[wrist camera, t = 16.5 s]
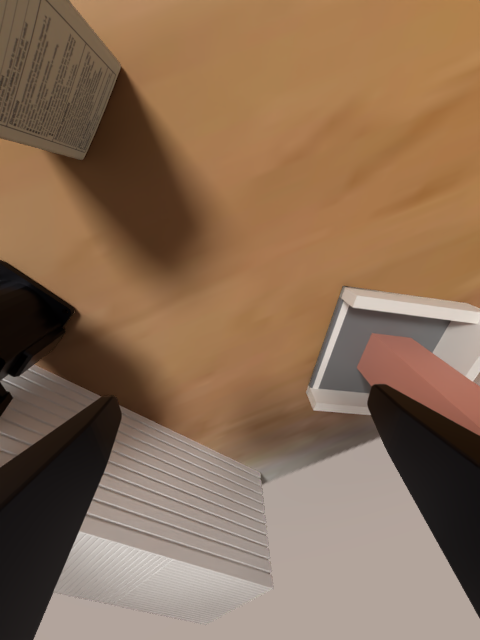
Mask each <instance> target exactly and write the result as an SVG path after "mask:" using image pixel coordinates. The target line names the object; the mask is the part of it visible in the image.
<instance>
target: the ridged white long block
mask: <svg viewBox="0 0 480 640" xmlns="http://www.w3.org/2000/svg"><path fill="white" fill-rule="evenodd" d="M0 382H1V384H2V385H3V387H4V388H5V389H6V391H9V392H10V394H11V395H12V396H13V399H12V400H11V402H10V403H9V405H8V406H7V408H6V409H5V411H4V412H3V414H2V415H1V417H0V467H1V466H3V465H4V464H6V463H7V462H9V461H10V460H11V459H13V458H14V457H16V456H17V455H19V454H20V453H22V452H23V451H24V450H26V449H27V448H29V447H30V446H32V445H33V444H34V443H36V442H37V441H39V440H40V439H42V438H43V437H44V436H46V435H47V434H49V433H50V432H52V431H53V430H54V429H56V428H57V427H59V426H60V425H62V424H63V423H64V422H66V421H67V420H69V419H70V418H72V417H73V416H74V415H76V414H77V413H79V412H80V411H82V410H83V409H85V408H86V407H87V406H89V405H90V404H92V403H93V402H95V401H96V400H97V399H99V398H100V397H101V396H99V395H97V394H95V393H93V392H91V391H89V390H87V389H84V388H82V387H80V386H78V385H76V384H74V383H72V382H70V381H68V380H66V379H63V378H61V377H59V376H57V375H55V374H53V373H51V372H49V371H47V370H45V369H43V368H40V367H38V366H36V365H33V366H32V367H30V368H29V369H28V370H26V371H25V372H24V373H23V374H21V375H20V376H18V377H12V376H10V375H7V376H6V377H5V378H3V379H2V380H1V381H0ZM119 406H120V405H119ZM120 409H121V412H122V419H121V422H120V426H119V429H118V432H117V435H116V438H115V442H114V445H113V448H112V451H111V454H110V458H109V461H108V463H107V466H106V469H105V471H104V474H103V476H102V478H101V481H100V483H99V485H98V488H97V490H96V493H95V495H94V497H93V500H92V502H91V504H90V507H89V509H88V511H87V514H86V516H85V519H84V521H83V523H82V526H81V528H80V530H79V533H78V535H77V537H76V540H75V542H74V545H73V547H72V549H71V552H70V554H69V556H68V559H67V561H66V563H65V566H64V568H63V570H62V573H61V575H60V578H59V580H58V582H57V585H56V587H55V589H54V592H53V593H57V594H62V595H67V596H72V597H76V598H77V597H78V598H81V599H85V600H90V601H95V602H100V603H104V604H109V605H114V606H119V607H123V608H128V609H133V610H138V611H142V612H147V613H152V614H157V615H161V616H166V617H171V618H176V619H180V620H185V621H190V622H195V623H200V624H204V625H207V624H209V623H211V622H213V621H214V620H216V619H218V618H220V617H222V616H224V615H225V614H227V613H229V612H231V611H233V610H235V609H236V608H238V607H240V606H242V605H244V604H245V603H248V602H250V601H251V600H253V599H255V598H257V597H259V596H260V595H263V594H264V593H266V592H268V591H270V590H272V589H273V579H272V575H270V572H272V570H271V562H270V561H268V559H269V558H270V552H269V549H268V548H267V546H269V544H268V537H267V536H266V534H267V526H265V525H264V524H265V523H266V517H265V515H263V514H264V513H265V509H264V505H262V504H263V503H264V500H263V496H261V495H262V494H263V491H262V488H261V486H262V482H261V480H260V478H261V473H260V472H258V471H256V470H254V469H252V468H250V467H248V466H246V465H244V464H241V463H239V462H237V461H235V460H233V459H231V458H229V457H227V456H225V455H223V454H221V453H218V452H216V451H214V450H212V449H210V448H208V447H206V446H204V445H202V444H200V443H197V442H195V441H193V440H191V439H189V438H187V437H185V436H183V435H181V434H179V433H177V432H174V431H172V430H170V429H168V428H166V427H164V426H162V425H160V424H158V423H156V422H154V421H151V420H149V419H147V418H145V417H143V416H141V415H139V414H137V413H135V412H133V411H130V410H128V409H126V408H124V407H122V406H120Z"/></svg>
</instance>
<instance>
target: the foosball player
mask: <svg viewBox="0 0 480 640" xmlns="http://www.w3.org/2000/svg"><path fill="white" fill-rule="evenodd" d="M357 369H358V370H359V371H360V373H361V374H362V375H363V376H364V378H365V379H366V380H367V381H368V383H369V384H370V385H371V386H372V385H374V384H386V385H388V386H390V387H392V388H394V389H396V390H397V391H399V392H401V393H403V394H405V395H407V396H408V397H410V398H412V399H414V400H416V401H417V402H419V403H421V404H423V405H425V406H427V407H428V408H430V409H432V410H434V411H436V412H437V413H439V414H441V415H443V416H445V417H446V418H448V419H450V420H452V421H454V422H456V423H457V424H459V425H461V426H463V427H465V428H466V429H468V430H470V431H472V432H474V433H476V434H477V435H479V436H480V387H479V386H478V385H477V384H475V383H474V382H472V381H471V380H470V379H468V378H467V377H465V376H464V375H463V374H461V373H460V372H458V371H457V370H456V369H454V368H453V367H451V366H450V365H449V364H447V363H446V362H444V361H443V360H442V359H440V358H439V357H437V356H436V355H435V354H433V353H432V352H430V351H429V350H427V349H426V348H425V347H423V346H422V345H420V344H419V343H418V342H416V341H415V340H413V339H412V338H408V337H400V336H392V335H384V334H376V333H372V334H371V336H370V339H369V341H368V343H367V345H366V348H365V350H364V352H363V354H362V357H361V359H360V361H359V364H358V366H357Z"/></svg>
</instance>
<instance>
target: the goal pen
mask: <svg viewBox="0 0 480 640" xmlns="http://www.w3.org/2000/svg"><path fill="white" fill-rule="evenodd" d="M372 333H376V334H384V335H392V336H400V337H408V338H412V339H413V340H415V341H416V342H418V343H419V344H420V345H422V346H423V347H425V348H426V349H427V350H429V351H430V352H432V353H433V354H435V355H436V356H437V357H439V358H440V359H442V360H443V361H444V362H446V363H447V364H449V365H450V366H451V367H453V368H454V369H456V370H457V371H458V372H460V373H461V374H463V375H464V376H465V377H467V378H468V379H470V380H471V381H472V382H473V381H474V379H475V378H476V376H477V375H478V374H479V372H480V308H478V307H475V306H473V305H470V304H468V303H461V302H454V301H447V300H440V299H433V298H426V297H419V296H411V295H404V294H397V293H390V292H383V291H376V290H369V289H362V288H355V287H347V286H343V287H342V290H341V293H340V296H339V299H338V302H337V305H336V307H335V310H334V313H333V316H332V319H331V322H330V325H329V328H328V331H327V333H326V336H325V339H324V342H323V345H322V348H321V351H320V354H319V357H318V359H317V362H316V365H315V368H314V371H313V374H312V377H311V380H310V382H309V385H308V388H307V391H306V393H307V396H308V398H309V401H310V403H311V406H312V408H313V410H315V411H327V412H339V413H350V414H362V415H371V414H370V412H369V409H368V406H367V401H368V397H369V393H370V390H371V387H372V386H371V385H370V384H369V383H368V381H367V380H366V379H365V378H364V376H363V375H362V374H361V373H360V371H359V370H358V369H357V366H358V364H359V361H360V359H361V357H362V354H363V352H364V350H365V348H366V345H367V343H368V341H369V339H370V336H371V334H372Z"/></svg>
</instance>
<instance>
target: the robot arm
mask: <svg viewBox="0 0 480 640" xmlns="http://www.w3.org/2000/svg"><path fill="white" fill-rule="evenodd" d="M65 309H66V310H67V311H68V312H66V311H65ZM73 314H74V309H73V307H71V306H70V305H69V304H67V303H66V302H64V301H63V300H61V299H60V298H58V297H56V296H55V295H53V294H52V293H50V292H49V291H47V290H46V289H44V288H43V287H41V286H40V285H38V284H37V283H35V282H34V281H32V280H31V279H29V278H28V277H26V276H25V275H23V274H22V273H20V272H19V271H17V270H16V269H14V268H13V267H11V266H10V265H8V264H7V263H5V262H4V261H2V260H0V381H1V380H2V379H3V378H5V377H6V376H7V375H10V376H12V377H18V376H20V375H21V374H23V373H24V372H25V371H26V370H28V369H29V368H30V367H32V366H33V365H34V364H35V363H37V362H38V361H39V360H40V359H42V358H43V357H44V356H45V355H47V354H48V353H49V352H50V351H52V350H53V349H54V348H55V346H56V345H57V343H58V342H59V341H60V339H61V338H62V337H63V335H64V334H65V329H64V326H65V325H66V324H67V322H68V321H69V319H70V318H71V317H72V315H73ZM12 399H13V396H12V395H11V394H10V392H9V391H6V389H5V388H4V387H3V385H2V384H1V382H0V417H1V415H2V414H3V412H4V411H5V409H6V408H7V406H8V405H9V403H10V402H11V400H12ZM367 406H368V409H369V412H370V414H371V416H372V418H373V421H374V423H375V425H376V428H377V430H378V432H379V434H380V437H381V439H382V441H383V444H384V446H385V448H386V450H387V452H388V454H389V456H390V457H391V459H392V461H393V463H394V465H395V467H396V468H397V470H398V472H399V474H400V476H401V477H402V479H403V481H404V483H405V485H406V486H407V488H408V490H409V492H410V494H411V495H412V497H413V499H414V501H415V503H416V504H417V506H418V508H419V510H420V512H421V514H422V515H423V517H424V519H425V521H426V523H427V524H428V526H429V528H430V530H431V531H432V533H433V535H434V537H435V539H436V541H437V542H438V544H439V546H440V548H441V549H442V551H443V553H444V555H445V557H446V559H447V560H448V562H449V564H450V566H451V568H452V569H453V571H454V573H455V575H456V576H457V578H458V580H459V582H460V584H461V586H462V587H463V589H464V591H465V593H466V595H467V596H468V598H469V600H470V602H471V604H472V605H473V607H474V609H475V611H476V613H477V614H478V616H479V618H480V436H479V435H477V434H476V433H474V432H472V431H470V430H468V429H466V428H465V427H463V426H461V425H459V424H457V423H456V422H454V421H452V420H450V419H448V418H446V417H445V416H443V415H441V414H439V413H437V412H436V411H434V410H432V409H430V408H428V407H427V406H425V405H423V404H421V403H419V402H417V401H416V400H414V399H412V398H410V397H408V396H407V395H405V394H403V393H401V392H399V391H397V390H396V389H394V388H392V387H390V386H388V385H386V384H374V385H372V387H371V390H370V393H369V397H368V401H367ZM121 419H122V412H121V409H120V406H119V403H118V400H117V397H116V396H114V395H111V396H102V397H100V398H99V399H97V400H96V401H95V402H93V403H92V404H90V405H89V406H87V407H86V408H85V409H83V410H82V411H80V412H79V413H77V414H76V415H74V416H73V417H72V418H70V419H69V420H67V421H66V422H64V423H63V424H62V425H60V426H59V427H57V428H56V429H54V430H53V431H52V432H50V433H49V434H47V435H46V436H44V437H43V438H42V439H40V440H39V441H37V442H36V443H34V444H33V445H32V446H30V447H29V448H27V449H26V450H24V451H23V452H22V453H20V454H19V455H17V456H16V457H14V458H13V459H11V460H10V461H9V462H7V463H6V464H4V465H3V466H1V467H0V640H33V639H34V637H35V634H36V632H37V630H38V627H39V625H40V622H41V620H42V618H43V615H44V613H45V611H46V608H47V606H48V603H49V601H50V599H51V596H52V594H53V592H54V589H55V587H56V585H57V582H58V580H59V578H60V575H61V573H62V570H63V568H64V566H65V563H66V561H67V559H68V556H69V554H70V552H71V549H72V547H73V545H74V542H75V540H76V537H77V535H78V533H79V530H80V528H81V526H82V523H83V521H84V519H85V516H86V514H87V511H88V509H89V507H90V504H91V502H92V500H93V497H94V495H95V493H96V490H97V488H98V485H99V483H100V481H101V478H102V476H103V474H104V471H105V469H106V466H107V463H108V461H109V458H110V454H111V451H112V448H113V445H114V442H115V438H116V435H117V432H118V429H119V426H120V422H121Z"/></svg>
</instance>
